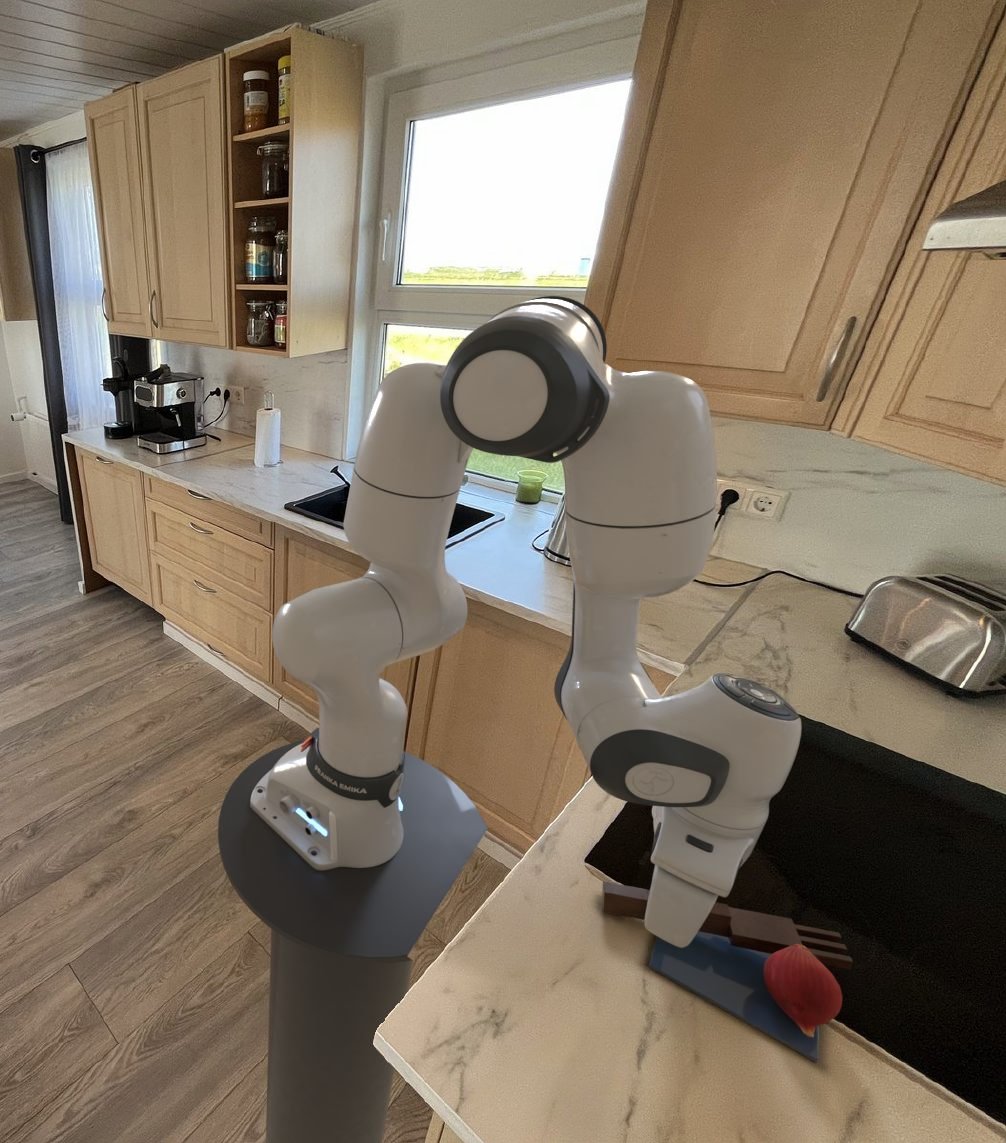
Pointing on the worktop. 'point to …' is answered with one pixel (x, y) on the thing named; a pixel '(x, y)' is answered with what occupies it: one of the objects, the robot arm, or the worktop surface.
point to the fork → (739, 926)
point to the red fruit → (802, 987)
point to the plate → (731, 985)
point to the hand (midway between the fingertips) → (667, 907)
